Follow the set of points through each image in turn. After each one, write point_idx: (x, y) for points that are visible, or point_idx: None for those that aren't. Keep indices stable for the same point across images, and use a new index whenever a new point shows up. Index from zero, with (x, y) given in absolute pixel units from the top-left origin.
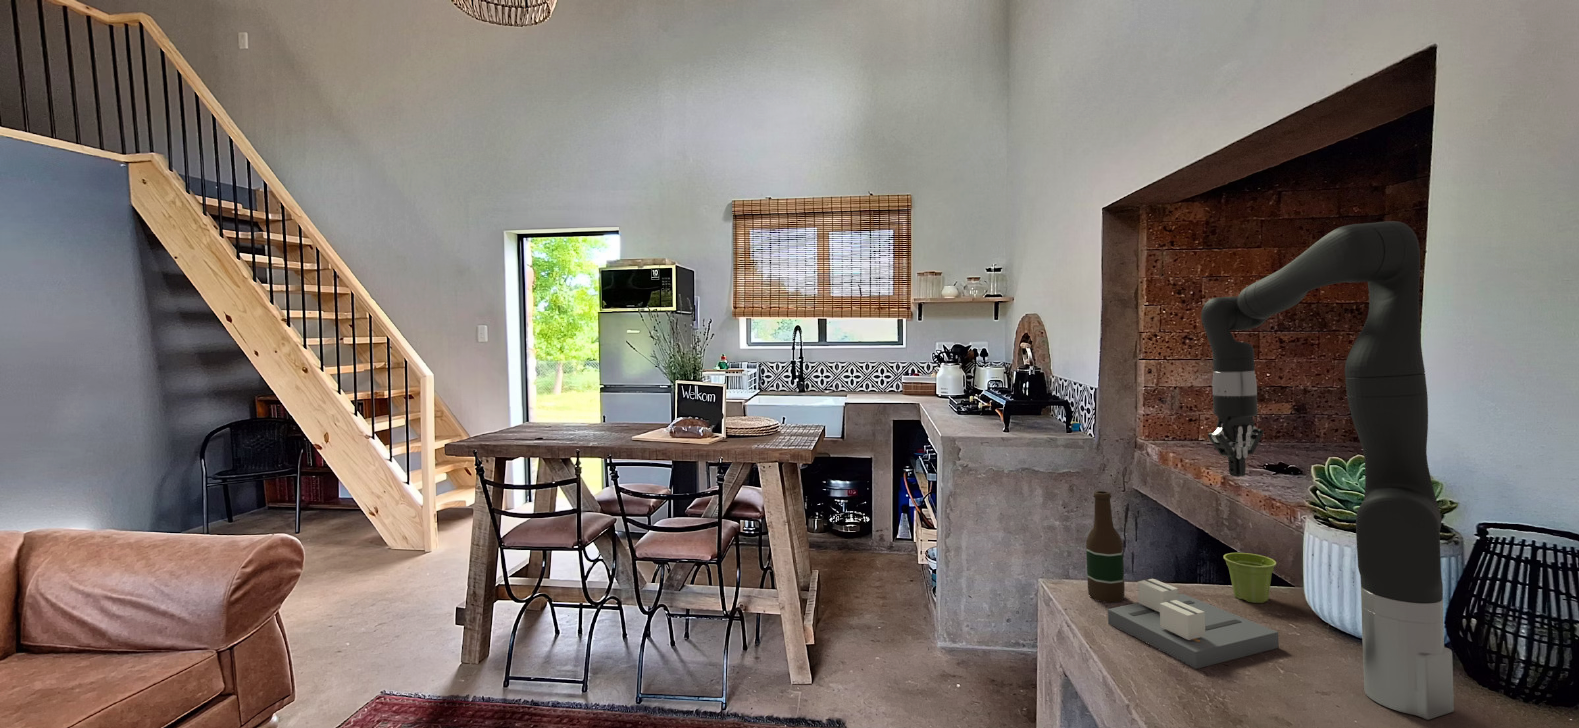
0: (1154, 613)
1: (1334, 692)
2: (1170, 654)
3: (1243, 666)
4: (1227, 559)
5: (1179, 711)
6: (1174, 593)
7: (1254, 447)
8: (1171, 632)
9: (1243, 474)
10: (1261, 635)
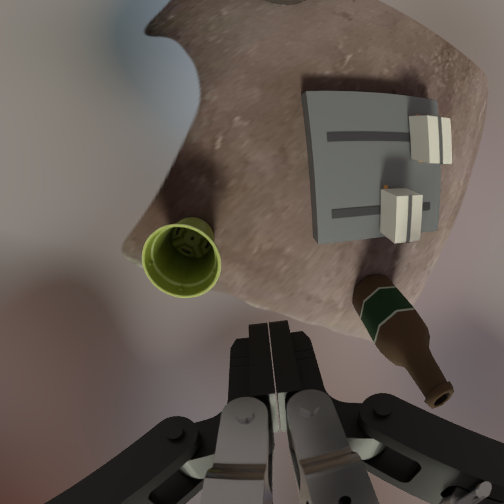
0: None
1: (334, 11)
2: None
3: (379, 80)
4: (217, 273)
5: (473, 67)
6: (399, 194)
7: (140, 454)
8: None
9: (260, 325)
10: (337, 92)
